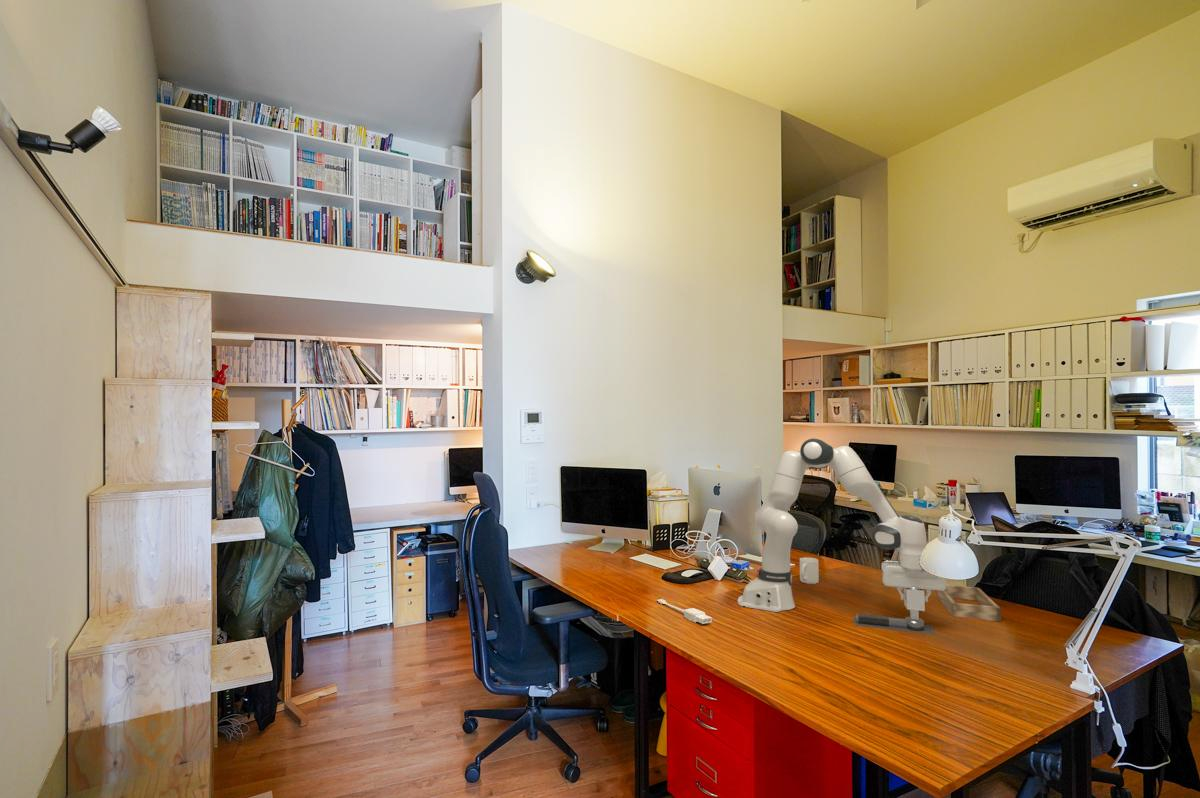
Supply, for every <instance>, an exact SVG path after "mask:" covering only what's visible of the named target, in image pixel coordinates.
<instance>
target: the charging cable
mask: <svg viewBox="0 0 1200 798" xmlns="http://www.w3.org/2000/svg"><path fill="white" fill-rule="evenodd" d="M656 600H657V601H658V602H660V603H663V604H666V605H665V606H667V605H668V606H667V607H670V608H672V609H675V610H677V611H680V612H682V613H683V618H684V617H685V618H687V619H689V620H688V621H690V620H691V621H690V622H692V621H693V622H692V623H694V622H695V623H694V624H697V623H696V622H699V623H700V624H702V625H703V624H709V623H713V619H712V617H711V616H709V615H706V612H705V611H702V610H700V609H697V608H694V607H691V608H687V609H686V608H685V609H682V608H680V607H677V606H675V605H672V604H670V603H668V602H667V600H665V599H663V598H660V599H659V598H658V599H656ZM657 601H656V602H657ZM685 618H684V619H685ZM687 619H686V620H687Z"/></svg>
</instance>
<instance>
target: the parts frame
mask: <svg viewBox="0 0 1200 798" xmlns="http://www.w3.org/2000/svg"><path fill="white" fill-rule="evenodd" d="M946 586H947V588H946V589H945V591H939V590H936V596H937V597H938V599H939V600H940V601H941V603H942V604H943V606H945V608H946V609H947V610H948V612H949V613H950V614H951V616H953V617H958V618H959V617H961V618H971V619H980V620H984V621H993V622H1000V623H1001V622H1002V613H1001V612H1002V608H1001V607H1000V606H999V605H998V604H997V603H996V602H994V601H993V599H992V598H991V597H990V596H989V595H988V594H986V593H985V592H984V591H983V590H982V589H981V588H980V587H976V586H964V585H963V586H962V585H951V584H946ZM954 599H958V600H970V601H971V600H972V601H977V603H979V605H978V604H971V603H970V604H969V603H959V602H955V600H954Z"/></svg>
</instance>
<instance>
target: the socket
mask: <svg viewBox="0 0 1200 798" xmlns="http://www.w3.org/2000/svg"><path fill="white" fill-rule="evenodd" d="M903 594H905V595H906V600H903V601H904V606H905V608H906V610H909V611H910V610H919V612H920V611H922V612H925V611H926V607H925V606H926V605H925V603H926V602H925V599H924V596H925V589H919V588H913V587H910V588H903Z"/></svg>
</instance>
